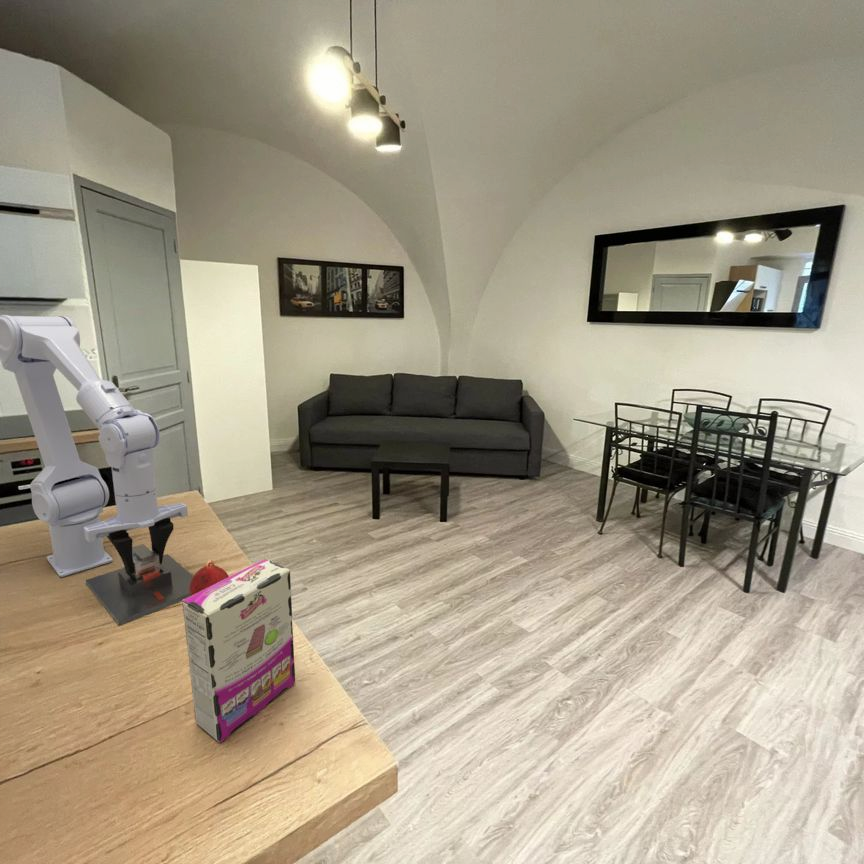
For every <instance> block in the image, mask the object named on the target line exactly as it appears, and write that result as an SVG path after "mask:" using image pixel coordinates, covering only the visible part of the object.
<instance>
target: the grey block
mask: <svg viewBox="0 0 864 864" xmlns="http://www.w3.org/2000/svg"><path fill="white" fill-rule="evenodd" d="M132 557H133V563H134V573H132V574H129V576H130V577H131V578H132V579H133V580H134V581H138V580H141V579H142V575H144V574H147V573H150V572H153V571H156V570H158V571H159V572H160V562H159V555H158V554H157V553H155V552H154V551H153V550H152V547H150V548H148V547H147V546H146V545H145V544H144V543H141V544H138V545H135V546H132ZM160 573H161V572H160Z"/></svg>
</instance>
